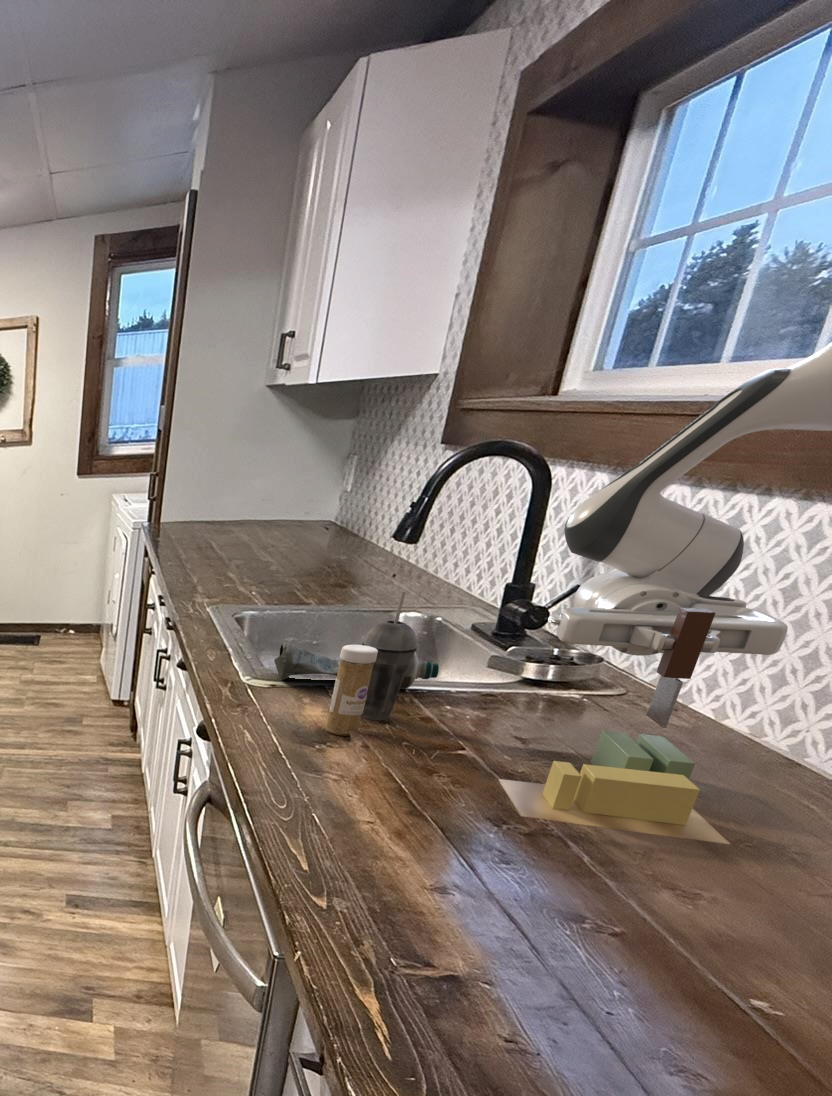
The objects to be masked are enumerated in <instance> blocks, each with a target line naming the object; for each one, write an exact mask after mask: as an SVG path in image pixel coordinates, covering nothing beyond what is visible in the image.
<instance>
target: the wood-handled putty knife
mask: <svg viewBox="0 0 832 1096" xmlns="http://www.w3.org/2000/svg"><path fill="white" fill-rule="evenodd" d="M714 616H715V612H713V611H711V610H709V609H705V608H679V611H678V614H677V616H676V619H675V622H674V625H673V627H672V630H671V633H670V634H673V635H674V636H676V642H675V643H674V644H673V645H674V647H673V649H672V650H671V651H670V650H664V652H663V653H662V655H661V658H660V660H659V663H658V666H657V669H656V673H657V674H658V675H660V677H659V679H658V683H657V685H656V688H655V690H654V692H653V693H654V694H653V696H652V699H651V701H650V704H649V707H648V709H647V712H646V716H647V717H648V718H649V719H650V720H652V721H653V722H654V723H655V724H656V725H658V726H659V727H661V728H662V729H666V728H667V727H668V724H669V721H670V719H671V716H672V713H673V710H674V709H675V705H676V703H677V700H678V699H679V695H680V692H681V690H682V688H683V685H684V681H682V680H681V679H683V680H684V679H685V680H691V679H692V676H693V674H694V671H695V668H696V667H697V663H698V661H699V658H700V655H701V653H702V652H701V650H702V647H703V645H704V642H705V640H706V637H707V634H708V632H709V629H710V626H711V624H712V621H713V619H714Z"/></svg>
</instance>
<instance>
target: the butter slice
mask: <svg viewBox="0 0 832 1096" xmlns="http://www.w3.org/2000/svg"><path fill="white" fill-rule="evenodd" d="M581 777H582V776H581V775H580V772H579V771H578V770H577V769H576V767H574V765H573V764H572V763H571V762H567V761H559V760H553V761H552V764H551V767H550V770H549V773H548V776H547V779H546V782H545V784H546V785H545V787H544V790H543V793H542V794H543V796H544V797H545V799H546V800H547V801H548V803H549V804H550V806H551V807H552V808H553V809H561V810H568V811H569V810H570V808H571V805H572V802H573V799H574V797H575V794H576V791H577V788H578V785H579V782H580V780H581Z"/></svg>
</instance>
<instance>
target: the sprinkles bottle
mask: <svg viewBox="0 0 832 1096" xmlns="http://www.w3.org/2000/svg"><path fill="white" fill-rule="evenodd" d="M377 653H378V650H377V649H376V648H373V647H370V646H364V645H362V644H347V645H343V646H342V648H341V650H340V655H339V660H340V665H339V671H338V675H337V676H336V678H335V682H334V686H333V690H332V696H331V698H330V704H329V712H328V717H327V721H326V724H325V726H324V729H325V731H326V732H328V733H330V734H333V735H336V736H344V737H345V736H346V737H349V736H351V734H350V731H357V732H359V730H360V724H361V720H362V717H361V716H362V713H363V710H364V705H365V701H366V697H367V690H368V686H369V682H370V677H371V673H372V668H373V665H374V662H375V661H376V658H377Z"/></svg>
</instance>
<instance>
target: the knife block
mask: <svg viewBox="0 0 832 1096" xmlns="http://www.w3.org/2000/svg"><path fill="white" fill-rule="evenodd" d="M590 764H591V765H596V766H605V767H614V768H623V769H632V770H642V771H651V772H660V773H669V774H678V775H684V776H685V777H686V778H688V779H689V780H690V778H691V775H692V773H693V771H694V767H695V765H696V762H694V761H693V760H692V759H691V758H690V757H688V756H687V754H685V753H683V752H682V750H680V749H679V748H677V747H676V746H675V745H674V744H672V743H671V742H670V741H669V740H668V739H667V738H666V737H664V736H663V735H655V734H644V733H639V734H638V735H637V739H636V741H634V740H633V738H631V737H630V736H629V735H628V734H627V733H626V732H624V731H623V732H621V731H613V730H612V731H611V730H601V732H600V735H599V738H598V740H597V744H596V746H595V749H594V752H593V755H592V758H591V760H590Z"/></svg>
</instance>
